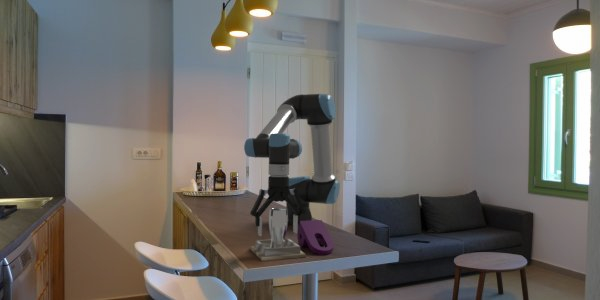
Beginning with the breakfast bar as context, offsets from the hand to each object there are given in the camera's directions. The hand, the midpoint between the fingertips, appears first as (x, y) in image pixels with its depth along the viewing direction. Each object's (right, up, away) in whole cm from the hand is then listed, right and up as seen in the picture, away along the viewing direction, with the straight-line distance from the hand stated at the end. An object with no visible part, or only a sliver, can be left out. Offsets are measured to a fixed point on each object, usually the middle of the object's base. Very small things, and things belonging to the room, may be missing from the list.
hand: (277, 234), depth 148 cm
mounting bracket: (+14, -8, +8) cm, 18 cm away
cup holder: (0, -7, 0) cm, 7 cm away
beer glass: (0, -6, 0) cm, 6 cm away
